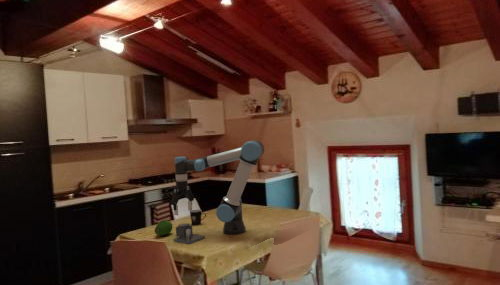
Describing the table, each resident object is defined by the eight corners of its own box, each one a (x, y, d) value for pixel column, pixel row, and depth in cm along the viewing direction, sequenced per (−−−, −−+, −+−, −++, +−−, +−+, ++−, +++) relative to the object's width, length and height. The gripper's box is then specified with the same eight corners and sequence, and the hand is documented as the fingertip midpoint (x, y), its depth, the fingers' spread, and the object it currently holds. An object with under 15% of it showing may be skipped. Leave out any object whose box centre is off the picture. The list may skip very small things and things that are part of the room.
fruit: (162, 239, 246) (161, 223, 245) (150, 238, 250) (149, 223, 249) (176, 232, 260) (175, 218, 259) (164, 232, 264) (163, 217, 263)
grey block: (184, 233, 258) (184, 222, 257) (192, 234, 253) (191, 223, 253) (176, 236, 252) (175, 225, 251) (184, 237, 247) (183, 226, 247)
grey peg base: (189, 235, 251) (189, 225, 250) (204, 238, 242) (204, 228, 242) (173, 241, 239) (172, 231, 239) (188, 244, 231) (188, 233, 231)
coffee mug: (188, 224, 281) (187, 211, 280) (197, 222, 287) (196, 209, 287) (198, 226, 273) (197, 213, 272) (207, 224, 279) (206, 210, 279)
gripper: (189, 177, 260) (191, 208, 260) (163, 183, 238) (165, 216, 239) (198, 178, 256) (200, 209, 256) (172, 183, 234) (174, 217, 235)
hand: (183, 212), depth 248 cm, fingers open, 13 cm apart
